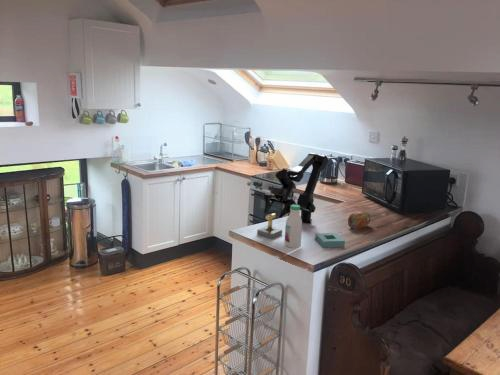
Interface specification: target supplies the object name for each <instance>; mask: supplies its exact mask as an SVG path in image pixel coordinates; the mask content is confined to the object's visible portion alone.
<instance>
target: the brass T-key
mask: <svg viewBox="0 0 500 375" xmlns="http://www.w3.org/2000/svg"><path fill="white" fill-rule="evenodd" d="M276 215H277V214H276V213H273V212H272V213H270V214H267V215H265V220H267V221H268V223H267V224H268V225H267V226H268V231H270V232H271V231H273V230H272V227H273V219H276Z"/></svg>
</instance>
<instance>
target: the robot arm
mask: <svg viewBox="0 0 500 375" xmlns="http://www.w3.org/2000/svg"><path fill="white" fill-rule="evenodd" d="M328 164H329V157H328V156H327V155H324V154H318V153H315V152H309V153H308V154H307V155H306V157H305V158H304V159H303V160H302V161H301V162H300V163H299V164H298V165H297V166H294V167H291V168H290V169H288V170H287V169H286V168H282V169H280V170H278V172H276V174H275V178H276V179H277V181H278V183H279V184H280V185H281V187H279V188H277V187H272V190H271V192H270V194H269V193H264V194H263V195H262V200H264V202H265V203H264V204H265V205H264V211H263V212H264V213H263V214H264V215H266V214H267V213H268V212H269V210H271V208H272V206H273V204H274V203H277V204H281V205H283V208H282V209H281V210H282V211H281V212H280V214H279V219H281V218H283V217H284V216H286V215H287V214H288V213H289V214H290V211H291V210H290V206H291V205H299V206H300V217H301V220H302V223H309V224H312V221H313V220H312V219H313V218H312V213H315V211H316V210H317V209H316V206H315V204H314V202H315V201H314V196H313V195H314V193H315V189H316V187H317V184H318V181H319V178H320V176H321V174H322V173H321V172H322V171H323V170H324V169H325V168H326V167H327V165H328ZM311 166H312V168H311V171H310V175H309V178H308V181H307V182H306V183H307V184H306V186H305V189H304V191H303V192H302V193H299V195H298V198H297V201H295V200H294V199H290V198H291V193H292V192H293V190H295V189H297V186H296V183H300V182H301V180H302V179H303V178H304V174H305V173H306V171H308V169H309V168H310V167H311ZM272 194H273V196H274V197H273V196H272Z"/></svg>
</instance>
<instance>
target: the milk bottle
mask: <svg viewBox="0 0 500 375" xmlns="http://www.w3.org/2000/svg"><path fill="white" fill-rule="evenodd" d="M290 210H291V211H290V212H289V214H288V217H287V218H286V221H285V228H284V229H285V231H284V246H285V247H288V248H291V249H295V248H300V247H301V243H302V234H303V233H302V231H303V222H302V220H301V210H300V206H299V205H291V206H290Z"/></svg>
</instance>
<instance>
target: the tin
mask: <svg viewBox="0 0 500 375" xmlns="http://www.w3.org/2000/svg"><path fill="white" fill-rule="evenodd" d="M370 221H371V214H370V213H369V212H367V211H359V212H355V213H354V212H353V213H351V214H349V216H348V218H347V225H348V227H349V228H351V229H354V230H356V229H361V228H366V227H368V226H369V224H370Z"/></svg>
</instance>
